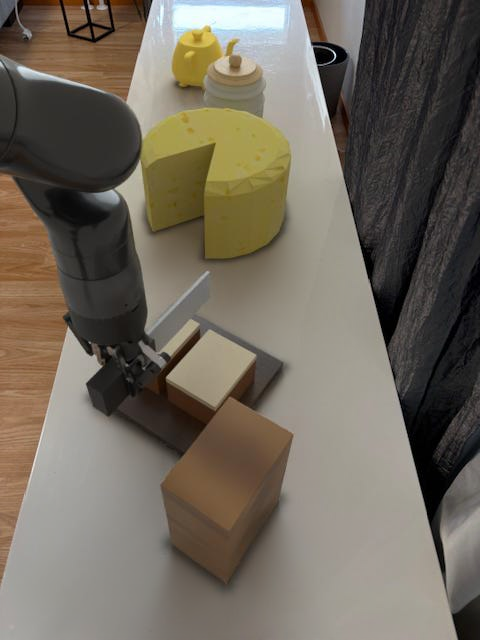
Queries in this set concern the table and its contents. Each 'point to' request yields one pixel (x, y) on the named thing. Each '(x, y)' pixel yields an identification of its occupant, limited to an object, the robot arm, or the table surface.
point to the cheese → (217, 177)
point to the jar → (235, 85)
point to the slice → (176, 353)
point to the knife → (110, 381)
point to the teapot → (197, 55)
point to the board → (177, 423)
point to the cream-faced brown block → (210, 376)
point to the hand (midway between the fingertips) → (126, 384)
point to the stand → (226, 487)
